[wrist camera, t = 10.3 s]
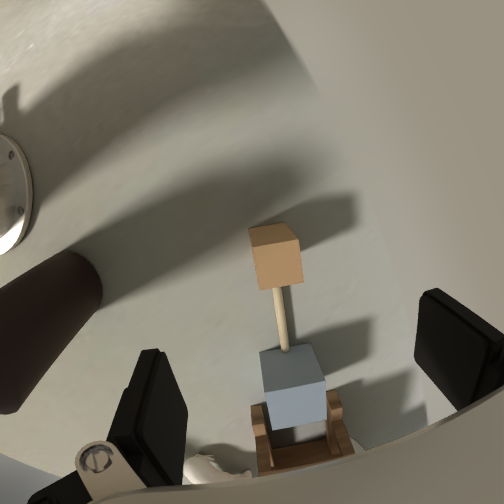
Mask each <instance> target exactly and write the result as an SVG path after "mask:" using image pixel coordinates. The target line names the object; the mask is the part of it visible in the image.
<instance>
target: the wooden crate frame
mask: <svg viewBox="0 0 504 504" xmlns="http://www.w3.org/2000/svg"><path fill="white" fill-rule="evenodd" d="M326 407H327V420H326V439H322V440H318V441H314V442H309V443H304V444H299V445H294V446H289V447H283V448H277V449H272V448H271V444H270V440H269V435H268V431H267V427H266V422H265V418H264V413H263V409H262V405H255V406H251V418H252V427H253V431H254V434H255V440H256V452H257V463H258V475H259V477H261V476H267V475H273V474H279V473H284V472H289V471H293V470H298V469H302V468H307V467H311V466H315V465H319V464H323V463H326V462H330V461H334V460H337V459H341V458H344V457H348V456H351V455H354V454H356V453H355V450H354V448H353V445H352V443H351V440H350V438H349V435H348V433H347V430H346V427H345V425H344V422H343V420H342V409H343V407H342V405H341V402H340V400H339V398H338V395H337V393H336V391H335V390H332V391H327V392H326Z"/></svg>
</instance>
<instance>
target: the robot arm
mask: <svg viewBox="0 0 504 504" xmlns="http://www.w3.org/2000/svg"><path fill="white" fill-rule="evenodd" d="M32 198H33V189H32V179H31V174H30V170H29V165H28V163H27V160H26V158H25V155H24V153H23V152H22V150H21V148H20V147H19V146H18V145H17V143H16V142H15V141H14V140H12V139H11V138H9V137H8V136H4V135H1V134H0V255H2V254H5V253H7V252H8V251H10V250H12V249H13V248H14V247H15V246H16V245H18V244H19V242H20V241H21V239H22V238H23V236H24V234H25V232H26V229H27V227H28V224H29V220H30V216H31V210H32ZM414 358H415V361H416V363H417V364H418V365H419V366H420V367H421V368H422V370H423V371H424V372H425V373H426V374H427V375H428V377H429V378H430V379H431V380H432V381H433V382H434V384H435V385H436V386H437V387H438V388H439V389H440V391H441V392H442V393H443V394H444V395H445V397H446V398H447V399H448V400H449V401H450V403H451V404H452V405H453V406H454V407H455V409H456V410H457V411H458V412H456V413H454V414H452V415H450V416H448V417H446V418H444V419H442V420H440V421H438V422H436V423H434V424H432V425H429V426H427V427H425V428H423V429H420V430H418V431H416V432H413V433H411V434H409V435H406V436H404V437H401V438H399V439H396V440H394V441H391V442H389V443H386V444H383V445H381V446H378V447H375V448H372V449H369V450H366V451H363V452H360V453H357V454H354V455H351V456H348V457H344V458H341V459H337V460H334V461H330V462H326V463H323V464H319V465H315V466H311V467H307V468H302V469H298V470H293V471H289V472H284V473H279V474H273V475H267V476H261V477H255V478H248V479H241V480H233V481H225V482H216V483H205V484H190V485H182V478H183V465H184V453H185V442H186V431H187V421H188V410H187V406H186V404H185V401H184V399H183V397H182V394H181V392H180V389H179V387H178V384H177V382H176V379H175V377H174V374H173V372H172V369H171V366H170V364H169V361H168V359H167V356H166V354H165V352H160V350H159V349H158V348H156V349H148V350H142V351H141V353H140V356H139V359H138V361H137V364H136V367H135V369H134V372H133V375H132V377H131V380H130V383H129V386H128V388H126V389H125V390H124V391H123V394H122V397H121V399H120V402H119V405H118V408H117V411H116V413H115V416H114V419H113V422H112V425H111V428H110V431H109V434H108V437H107V440H106V441H94V442H91V443H89V444H87V445H85V446H84V447H82V448H81V450H80V451H79V452H78V453H77V455H76V458H75V466H76V469H77V470H76V471H74V472H72V473H70V474H69V475H67V476H65V477H63V478H62V479H60V480H58V481H56V482H55V483H53V484H51V485H49V486H47V487H45V488H43V489H42V490H40V491H38V492H36V493H35V494H33V495H32V496H31V497H30V499H29V500H28V503H27V504H504V334H503V333H501V332H500V331H499V330H497V329H496V328H495V327H493V326H492V325H490V324H489V323H488V322H486V321H485V320H483V319H482V318H481V317H479V316H478V315H477V314H475V313H474V312H472V311H471V310H470V309H468V308H467V307H465V306H464V305H462V304H461V303H459V302H458V301H457V300H455V299H454V298H452V297H451V296H449V295H448V294H446V293H445V292H443V291H442V290H440V289H439V288H434V289H431V290H428V291H425V292H424V293H423V295H422V296H421V298H420V300H419V313H418V325H417V333H416V342H415V350H414Z"/></svg>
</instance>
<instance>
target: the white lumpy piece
mask: <svg viewBox="0 0 504 504" xmlns="http://www.w3.org/2000/svg"><path fill="white" fill-rule="evenodd" d="M208 456H214V455H205V456H204V455H200V454H196V455H194V456H193V457H190V458H188V459H187V460H186V461H185V463H184V466H183V472H184V474H185V476H186V477H187V478H188V479H189V480H190V481H191V482H192V483H193V484H205V483H216V482H225V481H233V480H241V479H248V478H252V473H251V471H250V470H246V471H245V472H244V473H243V474H242V475H239V474H235V475H231V474H229V473H228V472H224V471H220V470H218V469H217V468H215V467H214V466H213V465H212V464H211V463H210V459H211V460H214V458H211V457H208ZM215 460H216V459H215ZM211 462H212V461H211Z"/></svg>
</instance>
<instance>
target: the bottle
mask: <svg viewBox="0 0 504 504" xmlns="http://www.w3.org/2000/svg"><path fill="white" fill-rule="evenodd" d="M101 299H102V285H101V281H100V278H99V275H98V274H97V272H96V270H95V268H94V267H93V265H92V264H91V263H90V262H89V261H88V260H87V259H86V258H84V257H82V256H80V255H79V254H77V253H73V252H61V253H57V254H55V255H54V256H52V257H50V258H49V259H47V260H45V261H43V262H42V263H40V264H38V265H37V266H35V267H33V268H32V269H30V270H28V271H27V272H25V273H24V274H22V275H20V276H19V277H17V278H16V279H14V280H12V281H11V282H9V283H8V284H6V285H5V286H3V287H2V288H0V414H4V415H7V414H11V413H15V412H17V411H18V410H19V408H20V407H21V405H22V404H23V403H24V401H25V400H26V398H27V397H28V396H29V394H30V393H31V392H32V390H33V389H34V388H35V386H36V385H37V384H38V382H39V381H40V380H41V378H42V377H43V376H44V374H45V373H46V372H47V370H48V369H49V368H50V366H51V365H52V364H53V363H54V361H55V360H56V359H57V358H58V356H59V355H60V354H61V353H62V351H63V350H64V349H65V348H66V346H67V345H68V344H69V343H70V341H71V340H72V339H73V338H74V336H75V335H76V334H77V333H78V332H79V330H80V329H81V328H82V327H83V326H84V324H85V323H86V322H87V321H88V320H89V318H90V317H91V316H92V315H93V314H94V313H95V311H96V310H97V309H98V308H99V305H100V302H101Z"/></svg>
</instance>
